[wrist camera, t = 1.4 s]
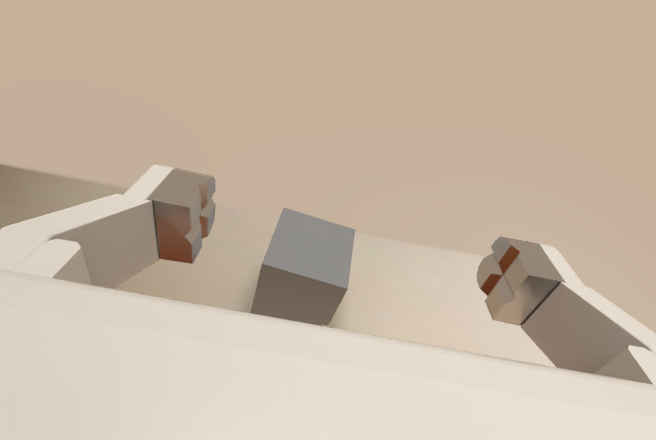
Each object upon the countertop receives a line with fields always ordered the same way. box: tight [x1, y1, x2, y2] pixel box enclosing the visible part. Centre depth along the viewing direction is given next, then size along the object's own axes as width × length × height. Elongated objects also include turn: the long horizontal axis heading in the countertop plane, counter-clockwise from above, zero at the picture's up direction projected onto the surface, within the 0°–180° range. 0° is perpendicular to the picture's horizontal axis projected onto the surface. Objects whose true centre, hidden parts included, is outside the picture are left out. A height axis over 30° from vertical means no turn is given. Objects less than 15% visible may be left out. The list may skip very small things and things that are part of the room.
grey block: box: [251, 208, 355, 325], centre depth 30 cm, size 6×6×10 cm
